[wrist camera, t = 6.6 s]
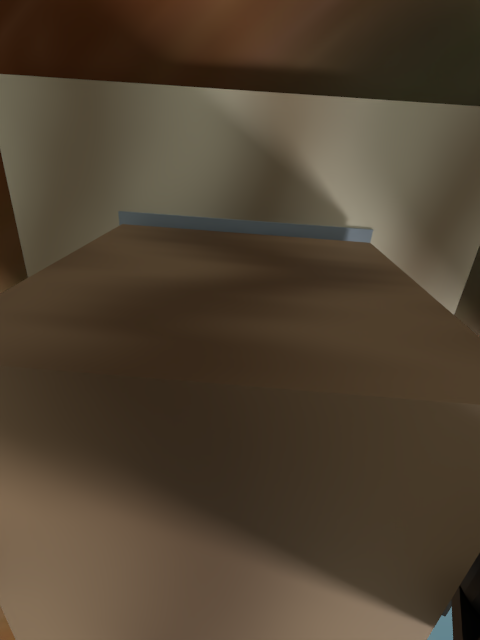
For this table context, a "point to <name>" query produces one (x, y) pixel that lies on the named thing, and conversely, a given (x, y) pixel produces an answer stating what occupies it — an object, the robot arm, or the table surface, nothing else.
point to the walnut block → (233, 442)
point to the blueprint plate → (243, 169)
